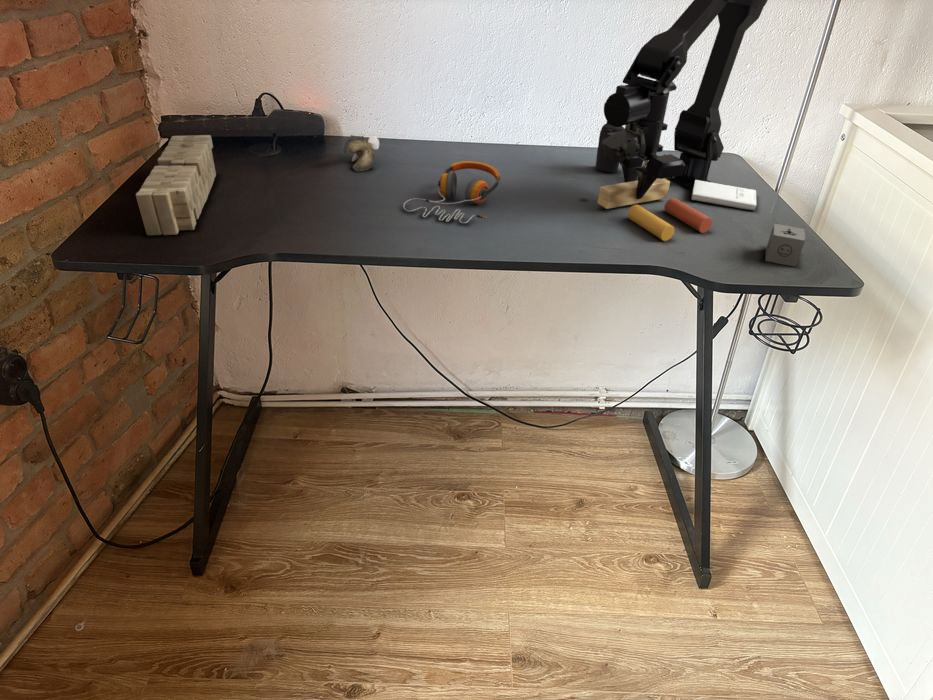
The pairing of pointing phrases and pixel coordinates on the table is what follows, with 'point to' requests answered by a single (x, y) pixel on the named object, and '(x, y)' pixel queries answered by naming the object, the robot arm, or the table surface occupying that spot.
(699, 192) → the hard drive
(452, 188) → the headphones
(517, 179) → the table surface
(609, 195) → the light wooden bar
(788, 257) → the dice cube
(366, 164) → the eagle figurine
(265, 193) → the table surface
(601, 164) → the two-way radio
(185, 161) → the block tower
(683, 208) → the terracotta rod
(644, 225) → the ochre rod
